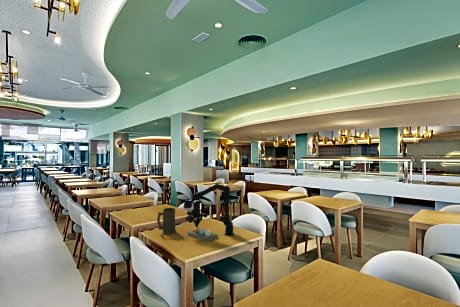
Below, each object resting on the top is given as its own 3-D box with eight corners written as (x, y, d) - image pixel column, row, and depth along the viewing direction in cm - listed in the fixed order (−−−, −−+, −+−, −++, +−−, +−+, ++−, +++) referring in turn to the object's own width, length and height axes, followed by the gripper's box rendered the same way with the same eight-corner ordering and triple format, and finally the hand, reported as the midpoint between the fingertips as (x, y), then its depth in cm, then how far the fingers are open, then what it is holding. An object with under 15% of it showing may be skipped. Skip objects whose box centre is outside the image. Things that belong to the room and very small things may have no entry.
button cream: (208, 235, 197) (208, 229, 197) (212, 236, 194) (212, 231, 194) (203, 236, 194) (203, 231, 194) (207, 237, 190) (207, 232, 190)
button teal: (202, 233, 202) (202, 228, 202) (206, 234, 199) (206, 229, 199) (197, 234, 198) (197, 229, 198) (201, 235, 195) (201, 230, 195)
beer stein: (172, 229, 218) (171, 206, 217) (178, 232, 210) (177, 208, 209) (156, 234, 207) (154, 210, 206) (162, 237, 199) (160, 212, 199)
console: (199, 231, 210) (199, 228, 210) (217, 237, 195) (217, 234, 195) (187, 235, 202) (187, 232, 202) (205, 241, 187) (205, 238, 187)
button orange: (197, 231, 207) (197, 226, 207) (200, 232, 203) (200, 227, 203) (192, 232, 203) (192, 227, 203) (196, 234, 200) (196, 229, 200)
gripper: (199, 205, 216) (199, 223, 216) (181, 208, 202) (181, 228, 202) (207, 207, 208) (207, 225, 208) (189, 210, 194) (189, 230, 194)
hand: (196, 227), depth 203 cm, fingers closed
